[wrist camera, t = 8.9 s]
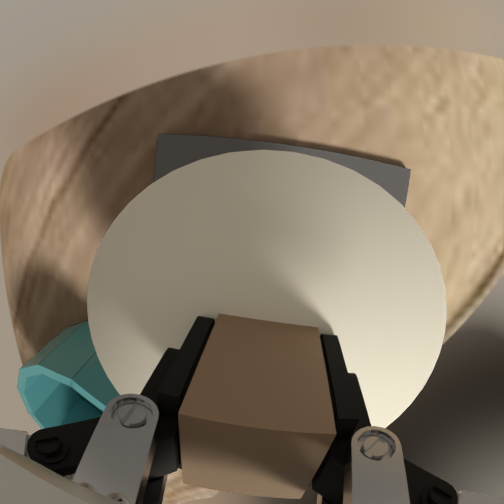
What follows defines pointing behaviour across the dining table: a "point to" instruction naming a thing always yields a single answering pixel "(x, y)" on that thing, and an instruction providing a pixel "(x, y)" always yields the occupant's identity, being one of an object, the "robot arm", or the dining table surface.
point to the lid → (267, 308)
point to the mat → (199, 147)
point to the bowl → (65, 380)
